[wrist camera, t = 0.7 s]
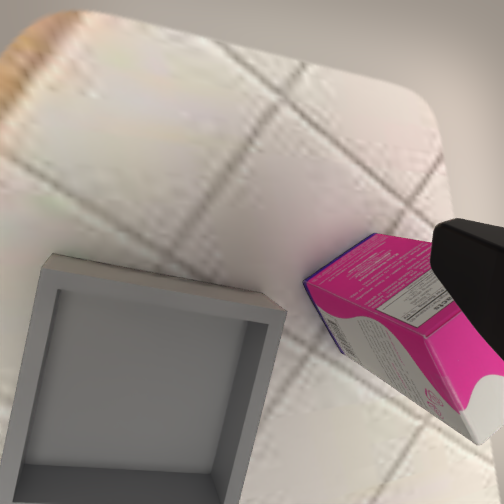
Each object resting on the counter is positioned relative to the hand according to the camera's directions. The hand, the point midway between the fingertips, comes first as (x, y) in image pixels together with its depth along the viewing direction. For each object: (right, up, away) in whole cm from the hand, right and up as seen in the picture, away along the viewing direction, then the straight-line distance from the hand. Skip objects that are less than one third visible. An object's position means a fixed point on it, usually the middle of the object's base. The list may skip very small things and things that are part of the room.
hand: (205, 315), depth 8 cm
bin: (-5, -6, +18) cm, 20 cm away
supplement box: (+7, -1, +22) cm, 23 cm away
